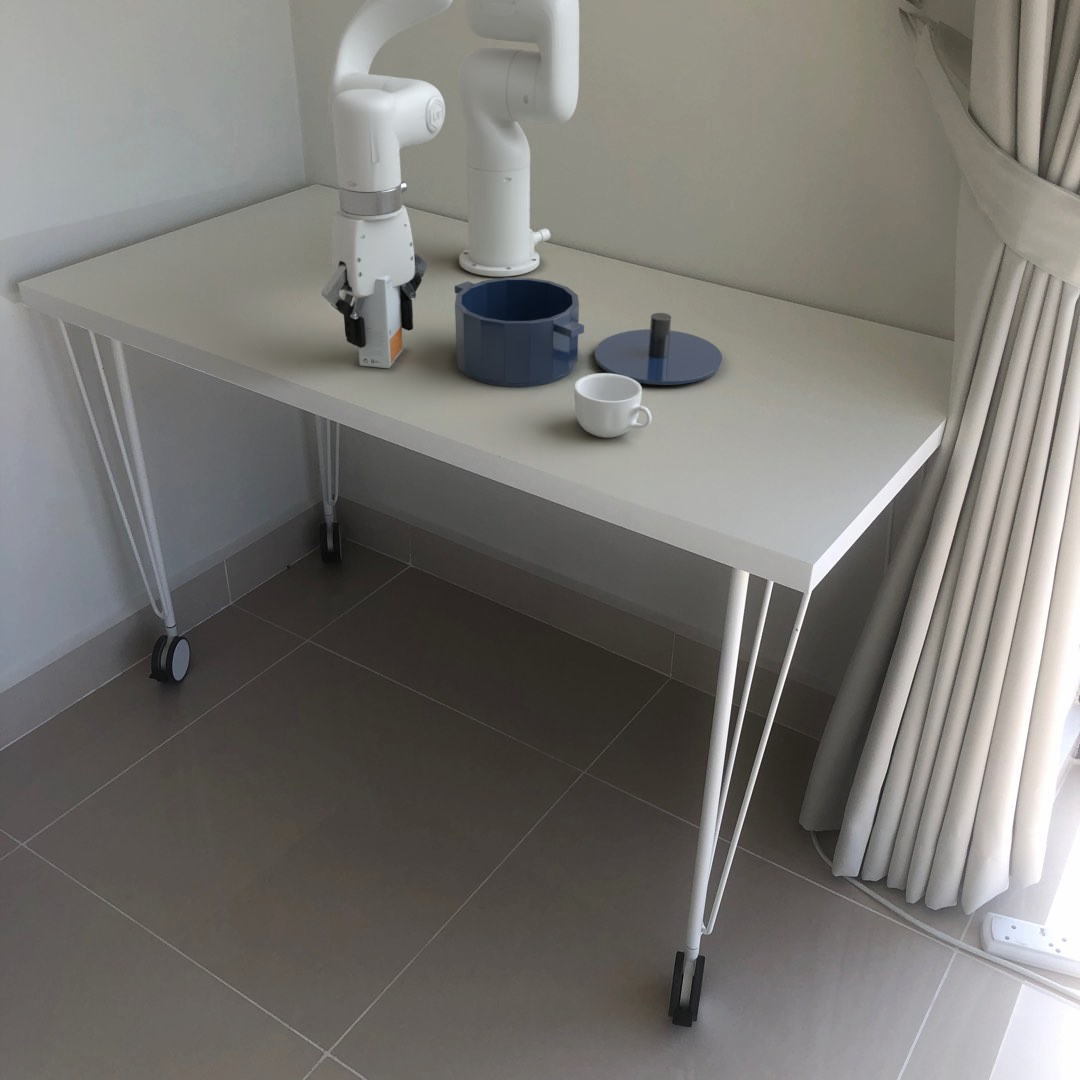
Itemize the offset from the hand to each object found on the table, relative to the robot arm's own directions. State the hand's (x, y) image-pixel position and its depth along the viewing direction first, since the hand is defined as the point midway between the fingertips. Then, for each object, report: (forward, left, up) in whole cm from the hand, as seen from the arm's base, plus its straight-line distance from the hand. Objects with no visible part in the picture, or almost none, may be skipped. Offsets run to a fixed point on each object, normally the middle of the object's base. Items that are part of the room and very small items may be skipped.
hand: (380, 334), depth 151 cm
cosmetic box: (0, 0, -4) cm, 4 cm away
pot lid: (-25, +26, -3) cm, 36 cm away
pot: (-12, +13, -3) cm, 18 cm away
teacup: (-6, +35, -3) cm, 36 cm away
